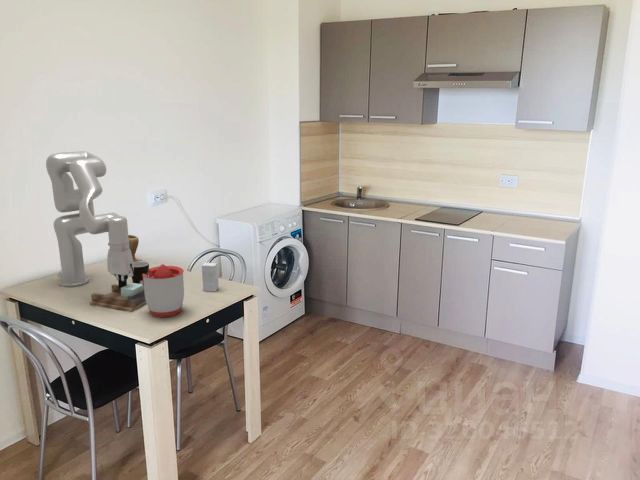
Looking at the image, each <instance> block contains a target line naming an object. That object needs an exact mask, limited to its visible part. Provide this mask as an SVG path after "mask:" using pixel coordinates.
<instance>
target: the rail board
mask: <svg viewBox="0 0 640 480" xmlns="http://www.w3.org/2000/svg"><path fill="white" fill-rule="evenodd" d="M90 295H91V297H90V298H91V301H90V302H89V306H93V307H101V308H106V309H111V310H117V311H123V312H128V313H129V312H130V313H133V312H135V311H137V310H139V309H140V308H142V307H144V306H147V303H146V299H145V293H144V288H142V289H140V290H138V291H136V292H134V293H132V294H130V295H128V299H127V298H121V290H119V284H115V283H113V284H111V292H108V293H106V294H102V293H101V294H100V293H95V292H93V293H91V294H90Z"/></svg>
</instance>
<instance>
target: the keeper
mask: <svg viewBox="0 0 640 480" xmlns="http://www.w3.org/2000/svg"><path fill="white" fill-rule="evenodd" d="M142 288H144V286H143V284H137V283H133V282H131V283H129V284H128V283H127V285H126V286H124V287H122V288H121V298H127V299H128V295H130V294H132V293H134V292H136V291H138V290H140V289H142Z"/></svg>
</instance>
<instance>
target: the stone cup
mask: <svg viewBox="0 0 640 480" xmlns="http://www.w3.org/2000/svg"><path fill="white" fill-rule="evenodd" d="M128 237H129V249H130V250H131V253H132V257H133V262H139V259H137V258H136V253H137V250H138V247H139V243H140V242H139V237H138V236H136V235H132V234H128Z"/></svg>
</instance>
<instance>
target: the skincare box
mask: <svg viewBox="0 0 640 480" xmlns="http://www.w3.org/2000/svg"><path fill="white" fill-rule="evenodd" d="M201 272H202V273H201V275H202V277H201V278H202V291H203V292H217V291H218V290H219V289H220V287H219V269H218V263H217V262H216V263H215V262H204V263H203V264H202V265H201Z"/></svg>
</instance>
